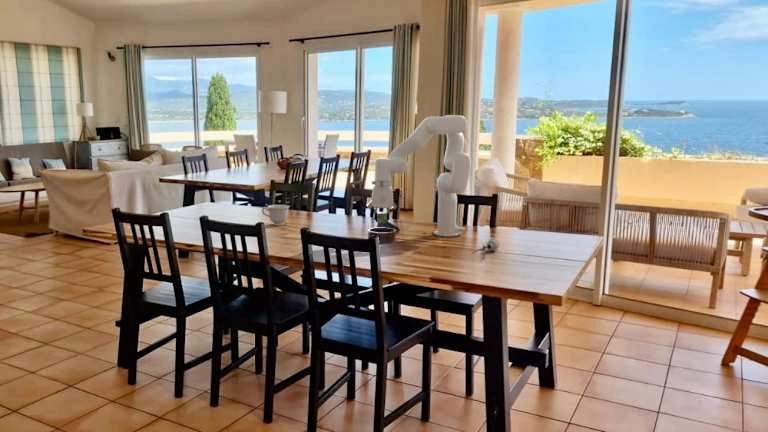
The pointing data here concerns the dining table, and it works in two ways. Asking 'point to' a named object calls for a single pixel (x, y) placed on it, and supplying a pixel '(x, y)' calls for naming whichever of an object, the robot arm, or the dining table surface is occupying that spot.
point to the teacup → (277, 213)
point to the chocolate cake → (388, 226)
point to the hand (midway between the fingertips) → (381, 221)
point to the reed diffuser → (490, 246)
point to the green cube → (381, 217)
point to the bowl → (383, 234)
